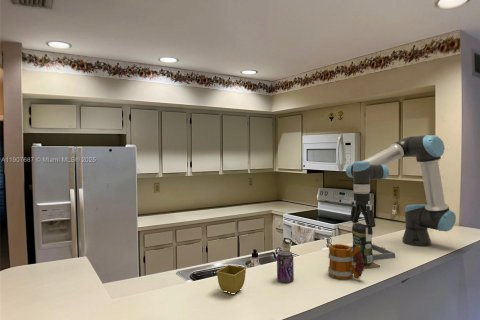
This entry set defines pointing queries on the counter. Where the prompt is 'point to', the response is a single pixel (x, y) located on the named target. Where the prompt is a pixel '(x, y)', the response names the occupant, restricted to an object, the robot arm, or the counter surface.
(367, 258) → the coffee jar
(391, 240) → the counter surface
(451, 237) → the counter surface
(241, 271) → the flower pot
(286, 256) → the beverage can
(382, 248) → the grey square shallow frame
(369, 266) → the pad
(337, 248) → the mug
